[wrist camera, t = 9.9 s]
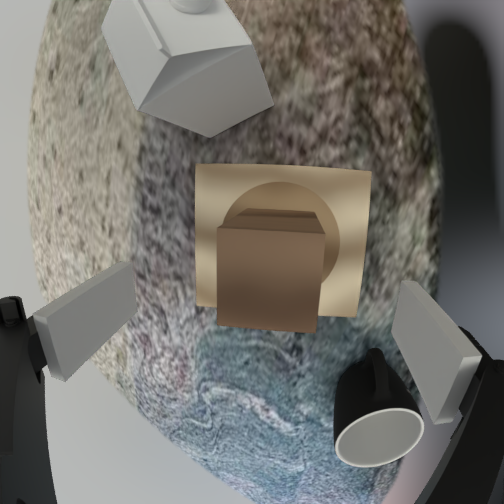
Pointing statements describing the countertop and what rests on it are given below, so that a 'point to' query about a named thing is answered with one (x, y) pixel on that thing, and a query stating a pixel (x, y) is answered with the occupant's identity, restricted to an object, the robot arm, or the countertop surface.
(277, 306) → the block
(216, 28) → the milk carton
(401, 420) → the mug
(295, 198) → the board
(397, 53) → the countertop surface
